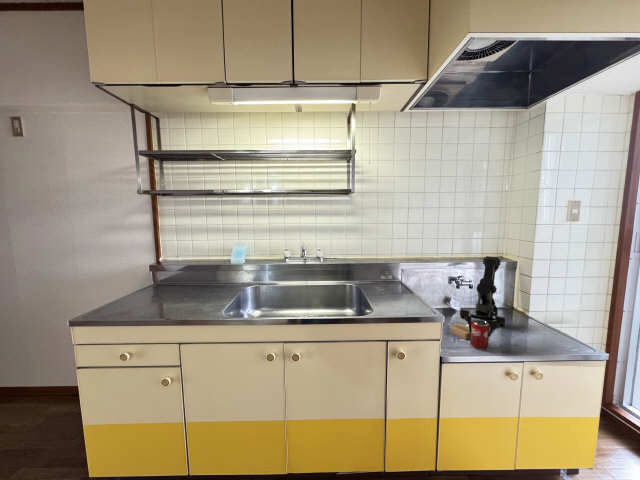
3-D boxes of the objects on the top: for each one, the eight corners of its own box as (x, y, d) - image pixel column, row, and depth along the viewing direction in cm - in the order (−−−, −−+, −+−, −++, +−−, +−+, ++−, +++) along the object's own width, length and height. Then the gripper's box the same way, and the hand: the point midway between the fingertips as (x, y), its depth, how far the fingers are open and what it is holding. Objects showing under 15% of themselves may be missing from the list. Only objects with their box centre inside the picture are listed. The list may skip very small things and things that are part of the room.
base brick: (461, 328, 147) (461, 323, 147) (477, 335, 139) (477, 330, 139) (449, 332, 143) (450, 326, 143) (465, 339, 135) (465, 334, 135)
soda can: (485, 344, 131) (487, 320, 129) (489, 351, 124) (491, 326, 122) (469, 342, 133) (470, 318, 131) (471, 349, 126) (473, 324, 125)
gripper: (461, 293, 134) (455, 322, 127) (506, 300, 123) (503, 332, 116) (463, 304, 141) (458, 331, 134) (506, 312, 130) (503, 343, 123)
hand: (479, 334), depth 126 cm, fingers closed on soda can, 7 cm apart
